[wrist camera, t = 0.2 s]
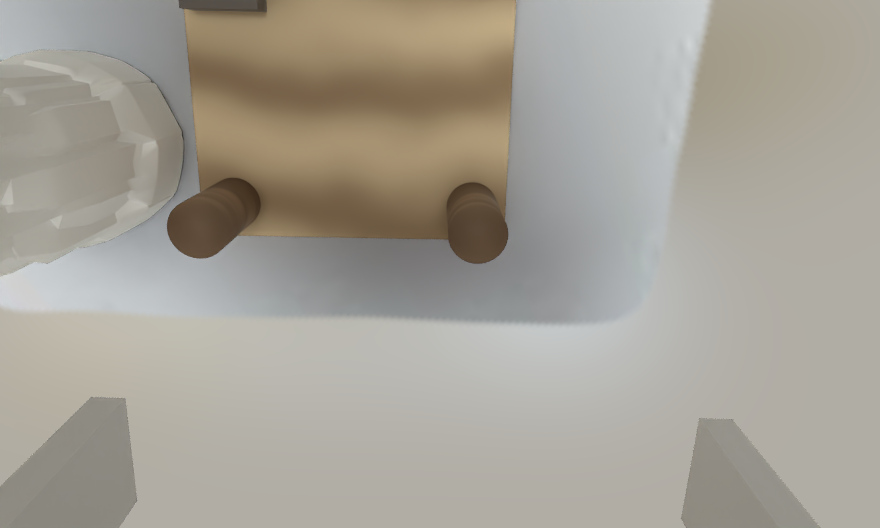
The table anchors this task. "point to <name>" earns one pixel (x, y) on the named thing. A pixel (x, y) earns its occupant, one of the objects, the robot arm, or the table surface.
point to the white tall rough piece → (79, 153)
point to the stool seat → (349, 121)
